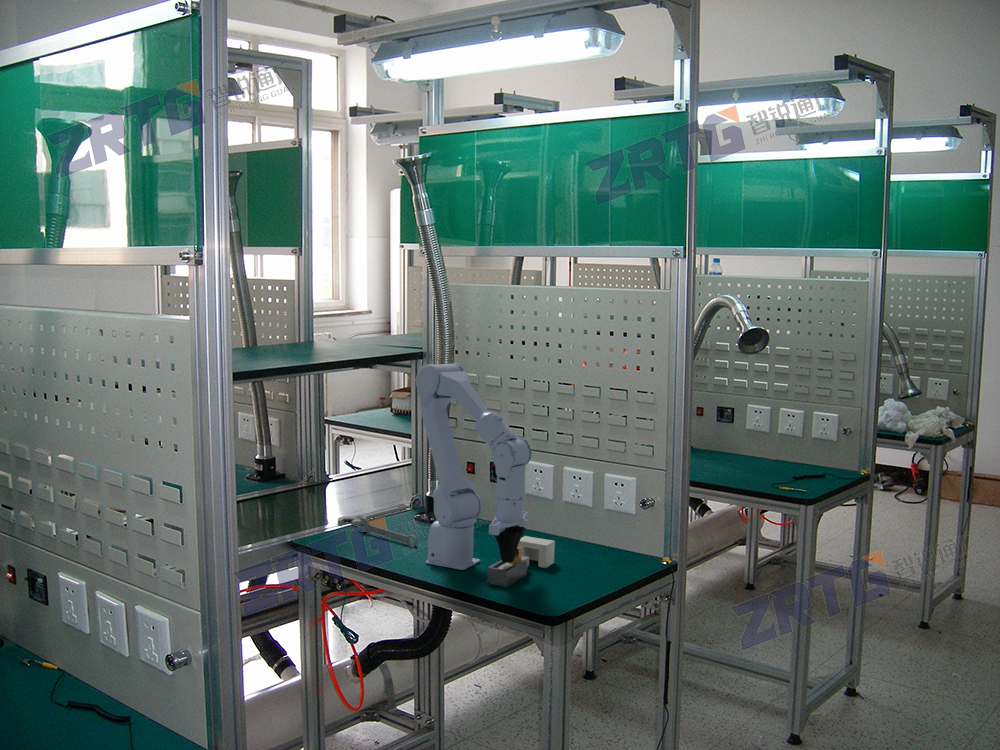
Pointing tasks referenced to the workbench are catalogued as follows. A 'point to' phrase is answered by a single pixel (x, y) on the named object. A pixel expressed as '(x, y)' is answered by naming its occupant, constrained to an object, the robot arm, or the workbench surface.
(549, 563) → the socket block
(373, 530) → the combination wrench
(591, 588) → the workbench surface
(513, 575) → the sleeve
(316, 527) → the workbench surface
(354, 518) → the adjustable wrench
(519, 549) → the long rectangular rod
